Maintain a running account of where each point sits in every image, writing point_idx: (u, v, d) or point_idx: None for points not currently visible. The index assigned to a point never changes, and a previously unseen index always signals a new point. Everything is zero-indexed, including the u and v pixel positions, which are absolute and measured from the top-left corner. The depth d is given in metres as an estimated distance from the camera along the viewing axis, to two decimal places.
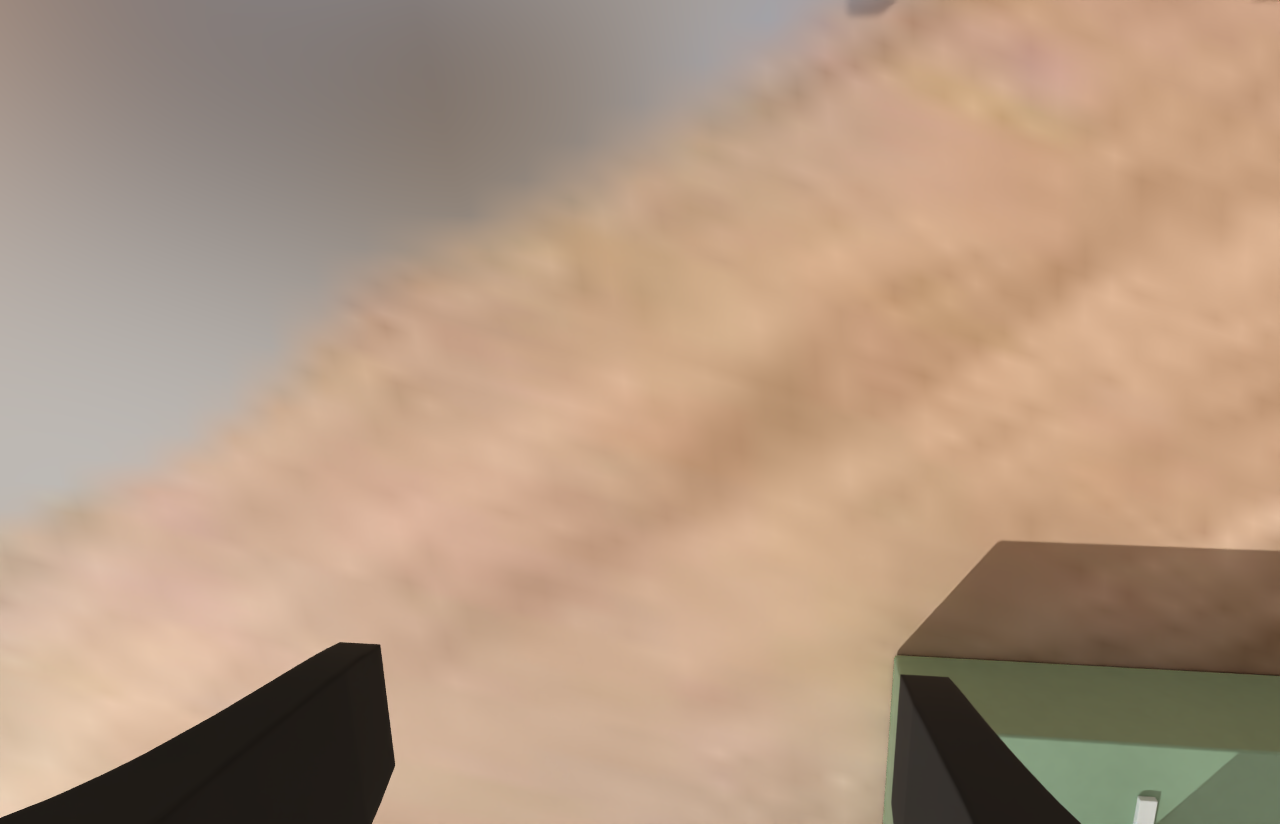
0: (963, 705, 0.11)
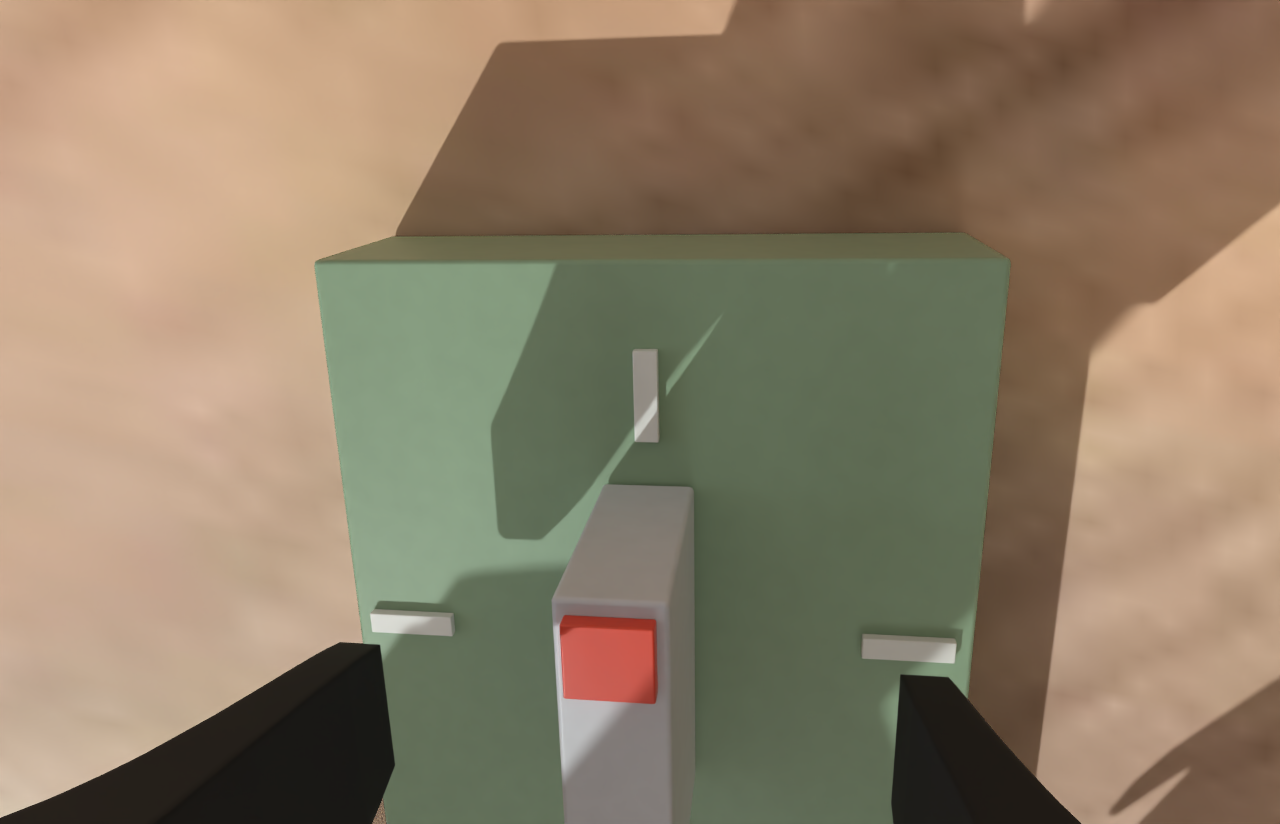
0: (963, 705, 0.11)
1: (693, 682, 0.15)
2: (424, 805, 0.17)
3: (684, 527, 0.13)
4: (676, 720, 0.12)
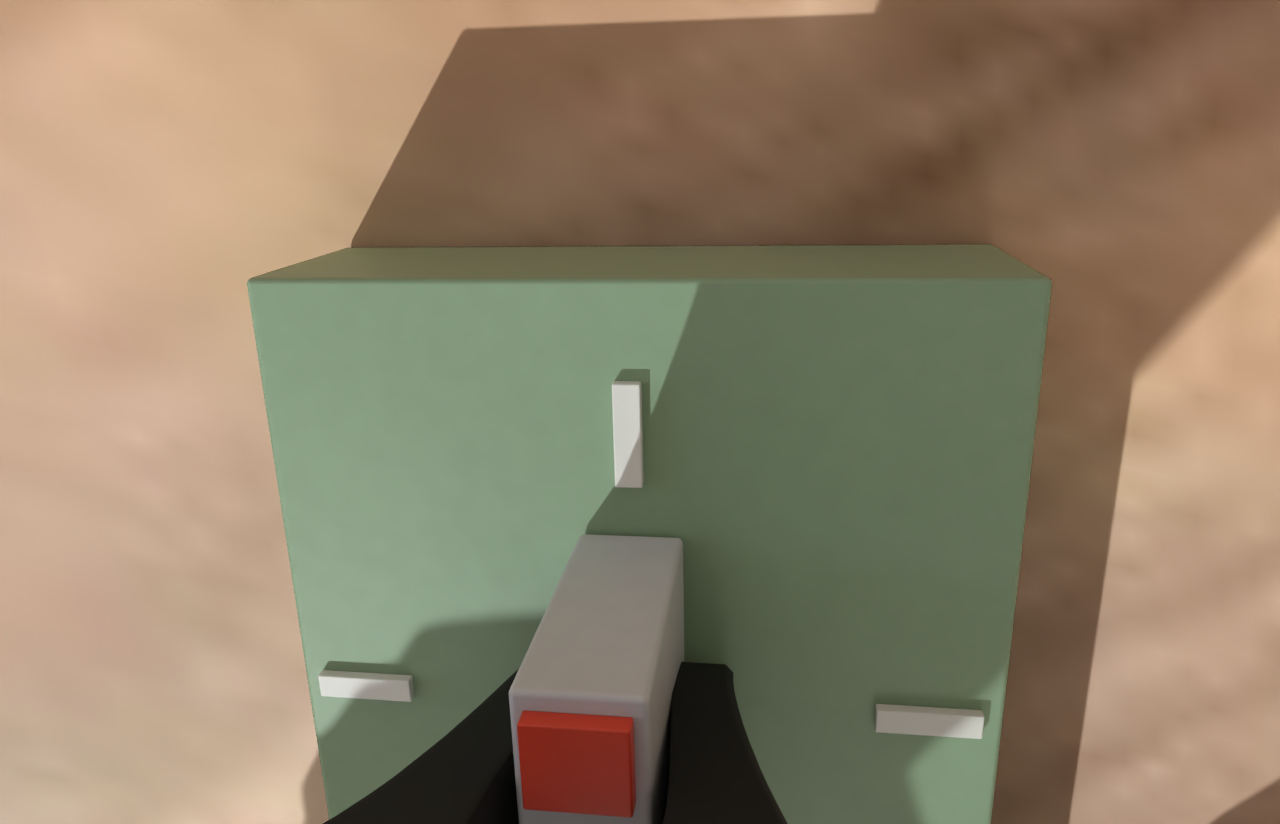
0: (719, 690, 0.11)
1: None
2: None
3: (670, 591, 0.11)
4: None
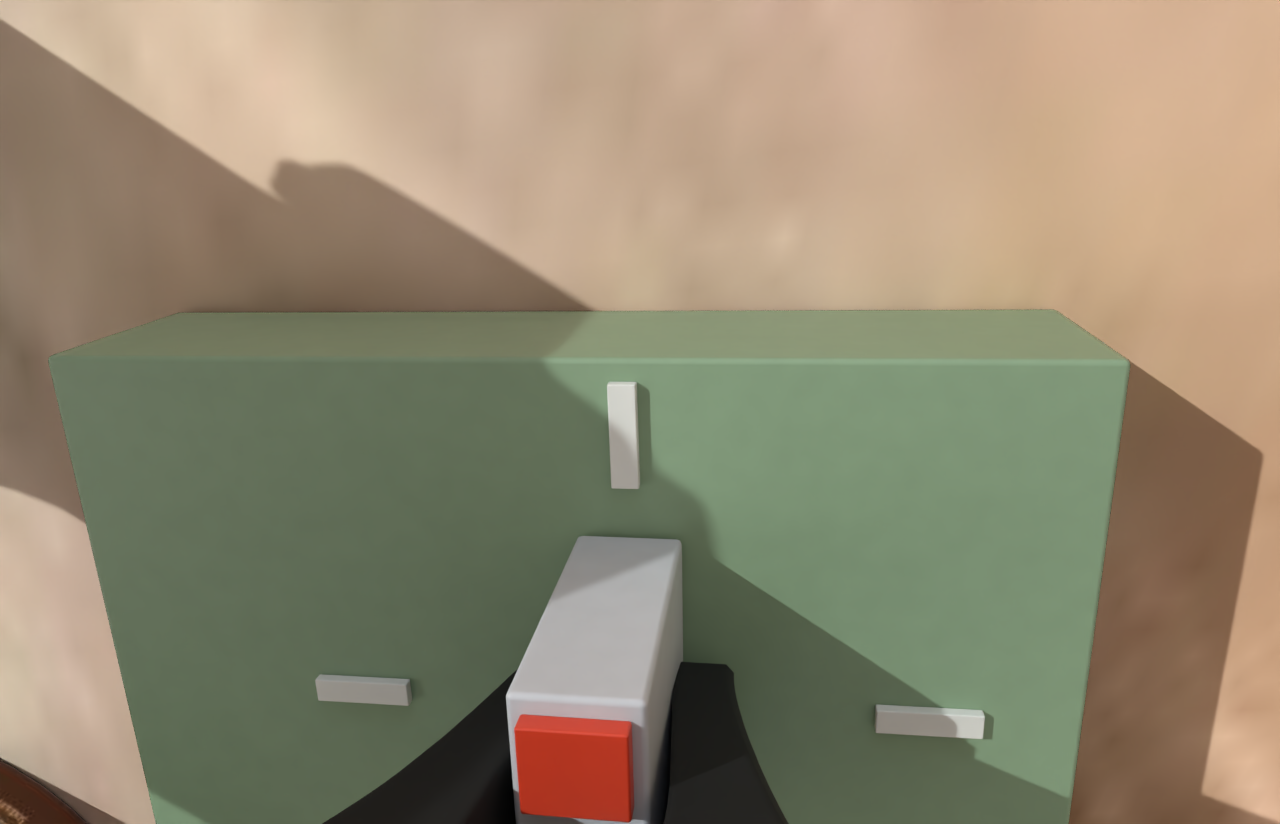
0: (720, 690, 0.11)
1: None
2: (342, 415, 0.12)
3: (669, 593, 0.11)
4: None
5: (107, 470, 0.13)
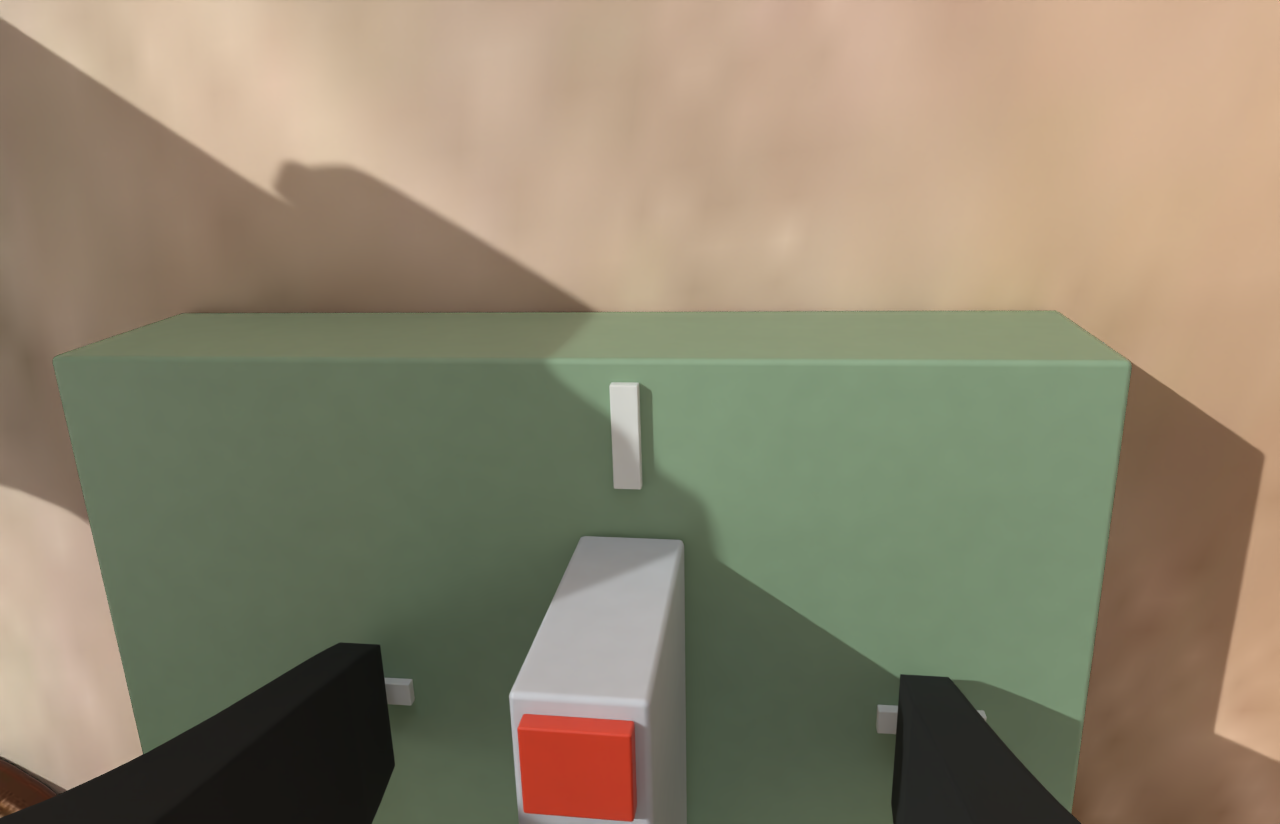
0: (963, 705, 0.11)
1: (684, 760, 0.13)
2: (346, 415, 0.12)
3: (671, 594, 0.11)
4: None
5: (111, 470, 0.13)
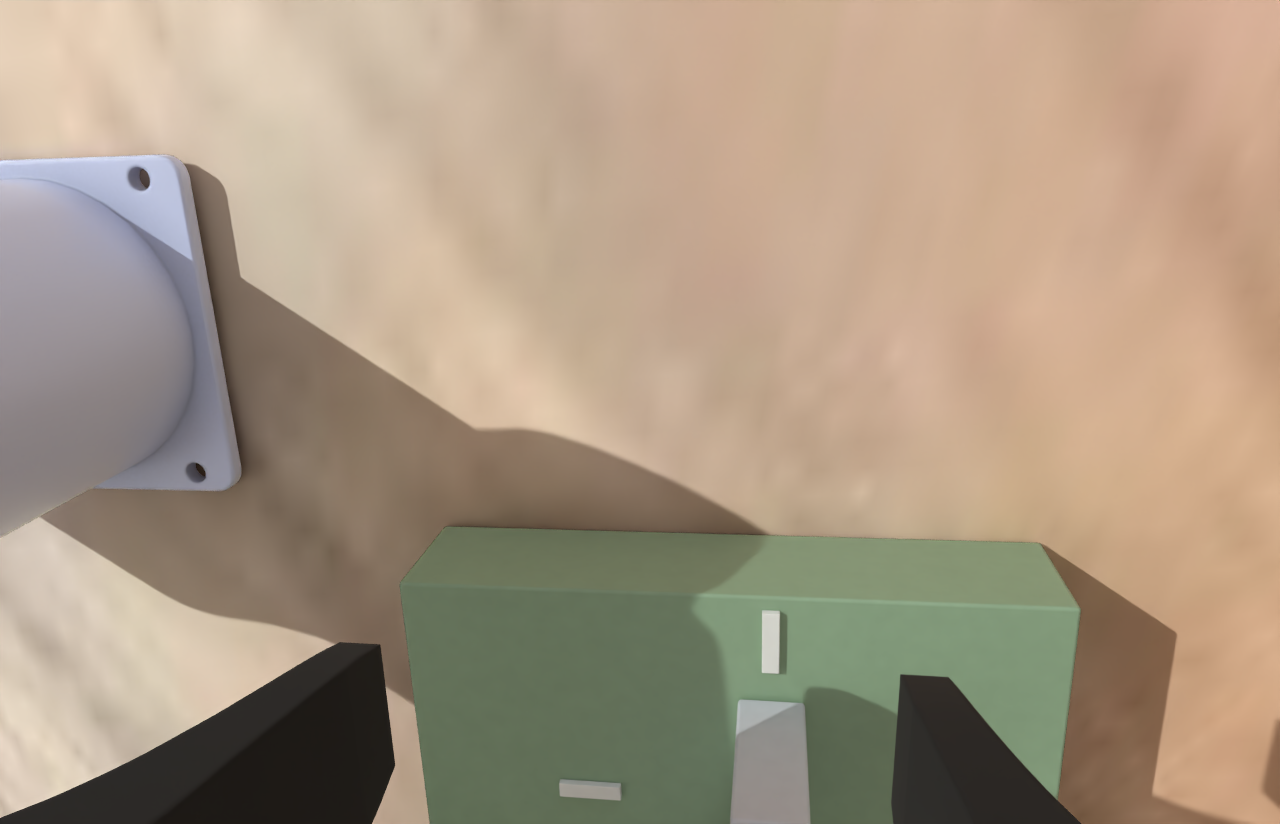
0: (963, 705, 0.11)
1: None
2: (591, 623, 0.20)
3: (806, 747, 0.18)
4: None
5: (431, 651, 0.20)
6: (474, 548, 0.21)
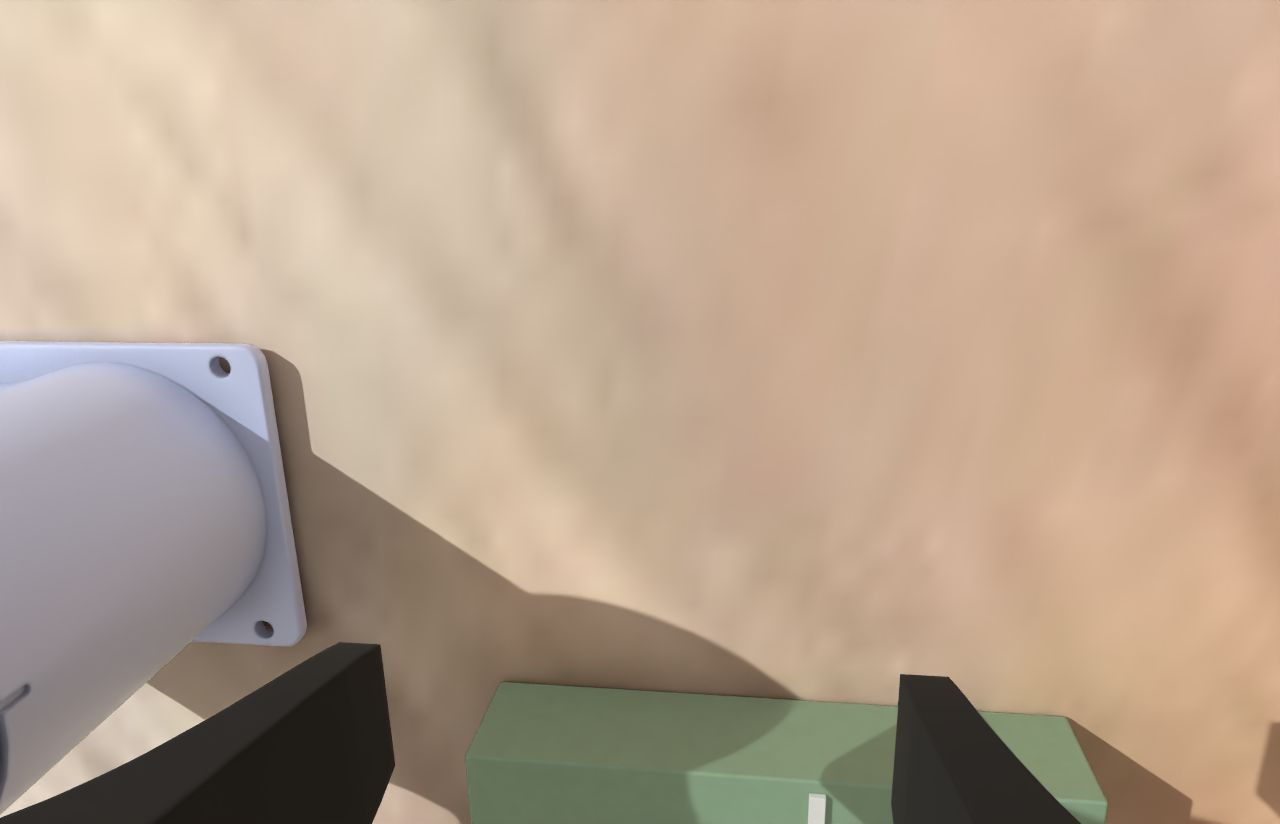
0: (963, 705, 0.11)
1: None
2: (646, 799, 0.21)
3: None
4: None
5: (493, 817, 0.22)
6: (531, 712, 0.23)
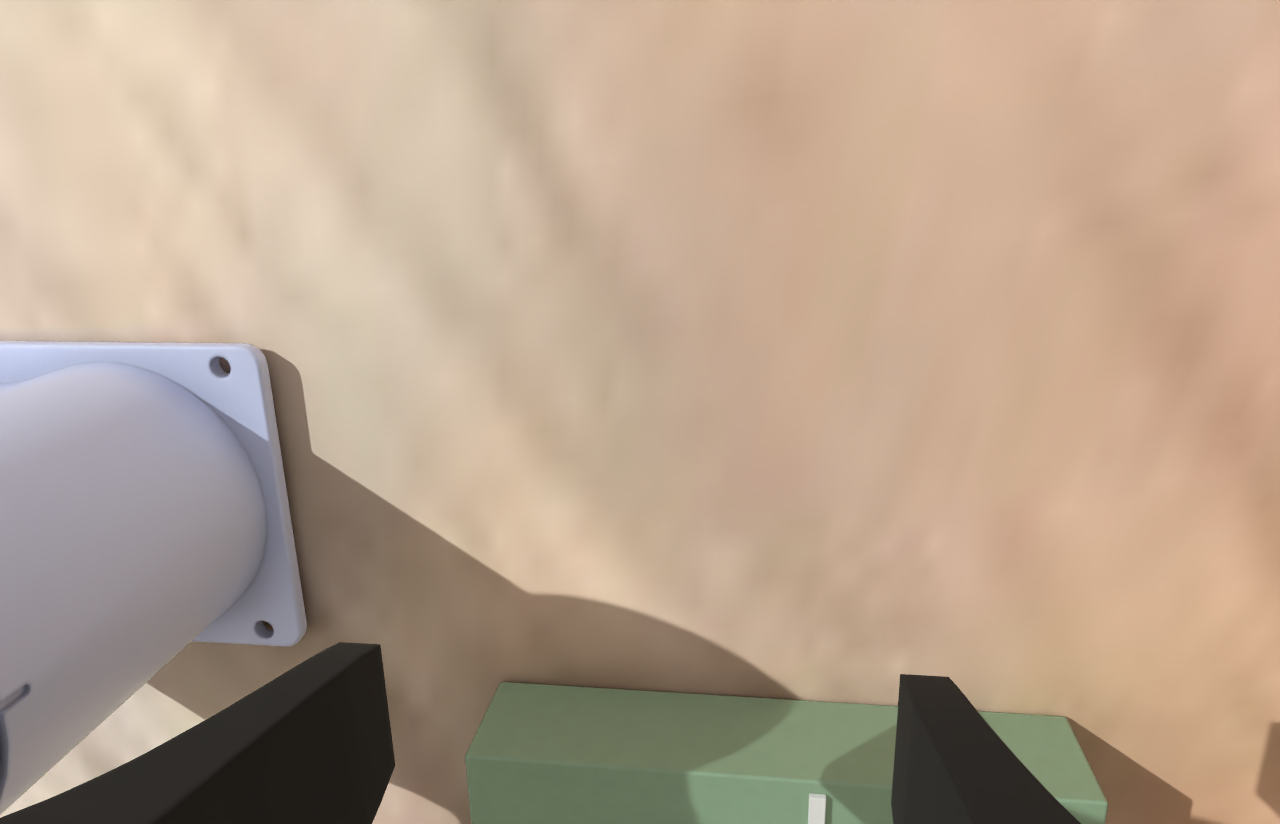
0: (963, 705, 0.11)
1: None
2: (646, 799, 0.21)
3: None
4: None
5: (493, 817, 0.22)
6: (531, 712, 0.23)
